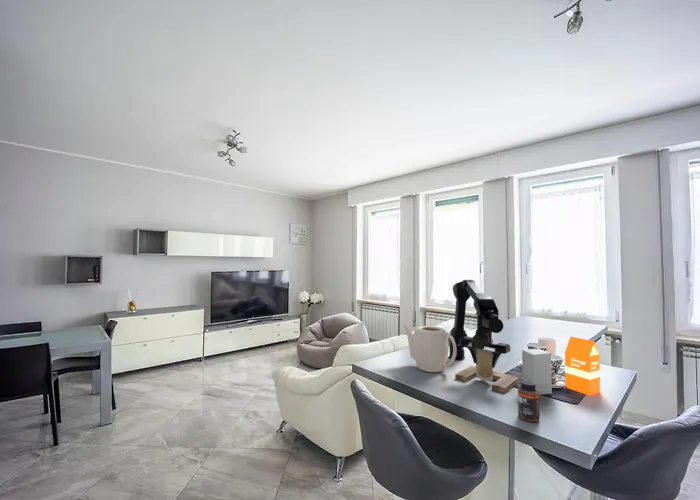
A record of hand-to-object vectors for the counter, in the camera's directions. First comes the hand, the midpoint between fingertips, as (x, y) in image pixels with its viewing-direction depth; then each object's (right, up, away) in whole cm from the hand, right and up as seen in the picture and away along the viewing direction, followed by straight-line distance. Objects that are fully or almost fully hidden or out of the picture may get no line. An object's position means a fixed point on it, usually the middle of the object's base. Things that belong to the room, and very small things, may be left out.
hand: (484, 365), depth 130 cm
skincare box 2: (+17, -7, -9) cm, 20 cm away
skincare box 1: (0, -6, 0) cm, 6 cm away
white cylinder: (+35, -8, +14) cm, 38 cm away
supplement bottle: (+1, -6, -30) cm, 31 cm away
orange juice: (+36, -8, -6) cm, 38 cm away
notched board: (+2, -7, +1) cm, 7 cm away
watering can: (-20, -7, +15) cm, 26 cm away
